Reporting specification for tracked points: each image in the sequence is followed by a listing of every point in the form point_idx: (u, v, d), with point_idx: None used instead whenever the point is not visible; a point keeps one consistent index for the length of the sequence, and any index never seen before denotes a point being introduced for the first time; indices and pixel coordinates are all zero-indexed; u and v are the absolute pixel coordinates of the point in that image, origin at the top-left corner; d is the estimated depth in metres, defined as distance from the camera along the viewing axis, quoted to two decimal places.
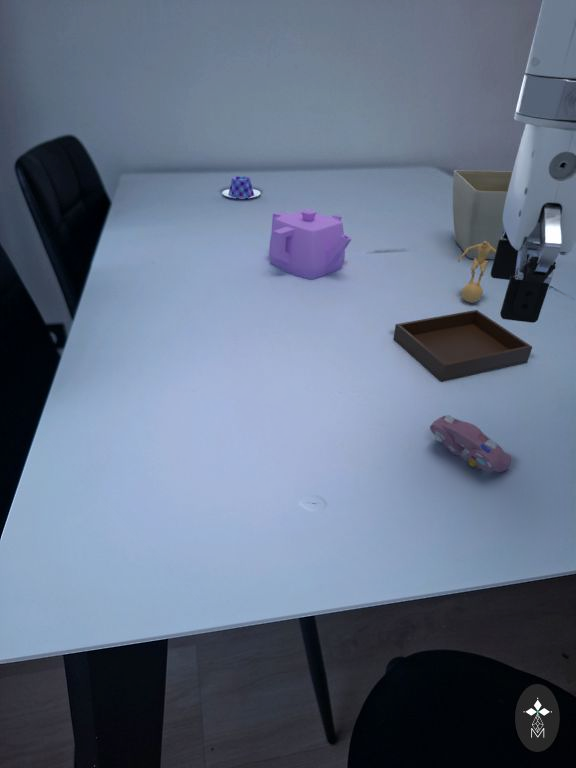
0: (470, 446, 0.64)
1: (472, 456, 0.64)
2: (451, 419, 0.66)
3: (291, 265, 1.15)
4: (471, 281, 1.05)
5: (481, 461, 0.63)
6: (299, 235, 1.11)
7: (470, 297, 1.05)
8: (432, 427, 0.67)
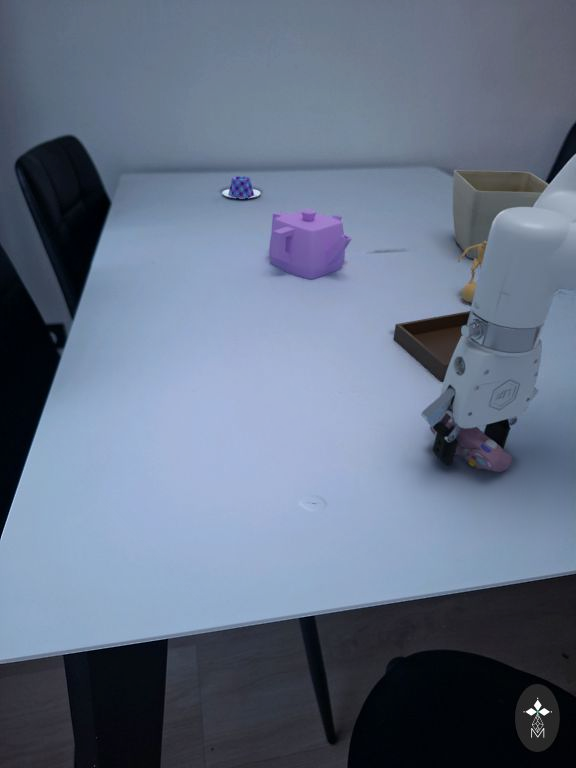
0: (470, 446, 0.64)
1: (472, 455, 0.64)
2: (451, 419, 0.66)
3: (291, 265, 1.15)
4: (471, 281, 1.05)
5: (481, 461, 0.63)
6: (299, 235, 1.11)
7: (470, 297, 1.05)
8: None
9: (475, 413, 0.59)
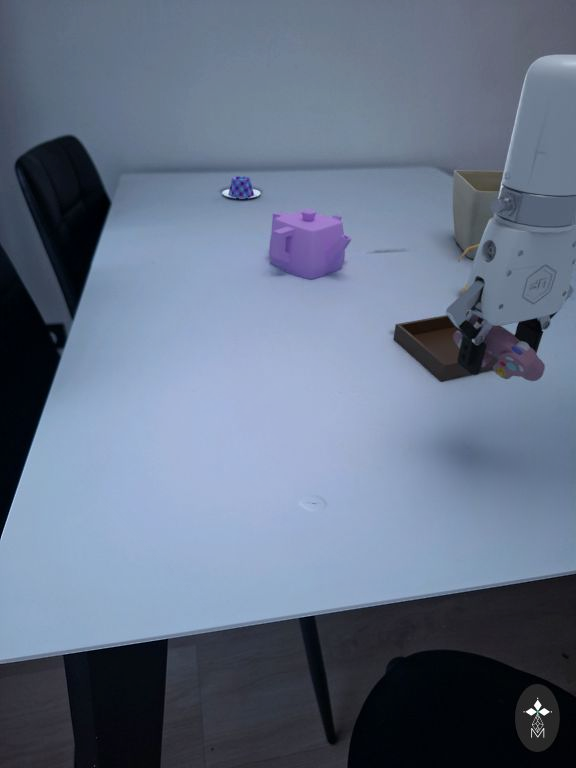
0: (499, 350, 0.58)
1: (502, 362, 0.58)
2: (477, 324, 0.60)
3: (291, 265, 1.15)
4: None
5: (512, 366, 0.57)
6: (299, 235, 1.11)
7: None
8: (455, 335, 0.61)
9: (507, 306, 0.53)
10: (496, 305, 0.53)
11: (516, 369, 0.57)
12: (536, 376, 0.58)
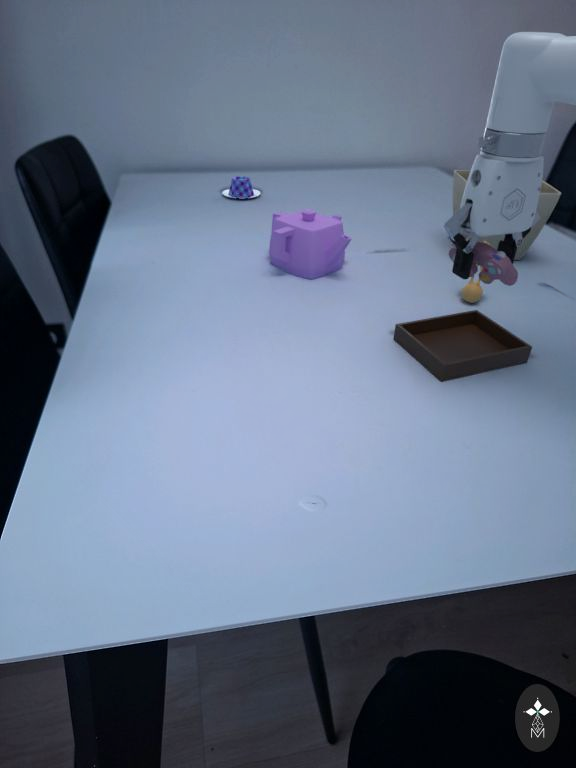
0: (483, 259, 0.76)
1: (485, 268, 0.77)
2: None
3: (291, 265, 1.15)
4: (471, 281, 1.05)
5: (492, 270, 0.75)
6: (299, 235, 1.11)
7: (470, 297, 1.05)
8: (450, 251, 0.80)
9: (489, 220, 0.71)
10: (481, 219, 0.71)
11: (495, 272, 0.75)
12: (511, 280, 0.77)
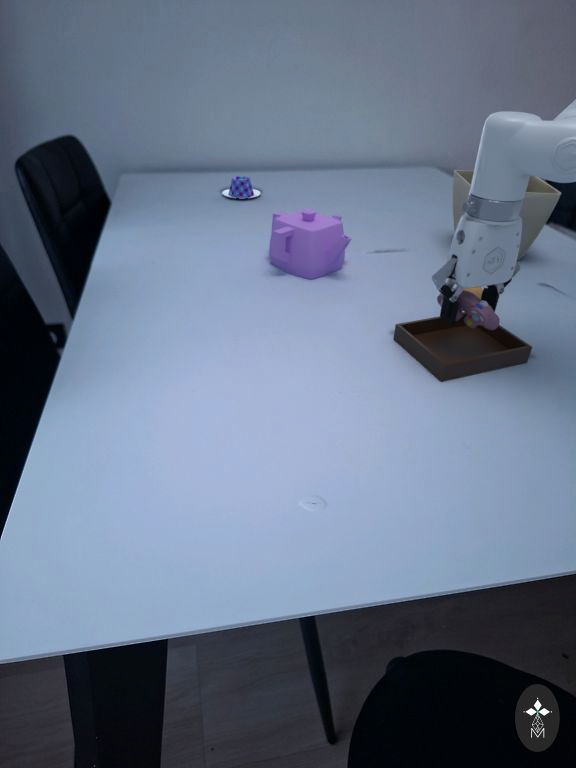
0: (467, 307, 0.84)
1: (469, 315, 0.84)
2: (453, 290, 0.86)
3: (291, 265, 1.15)
4: None
5: (476, 317, 0.83)
6: (299, 235, 1.11)
7: None
8: (438, 297, 0.87)
9: (472, 274, 0.79)
10: (465, 273, 0.79)
11: (478, 319, 0.83)
12: (493, 325, 0.84)
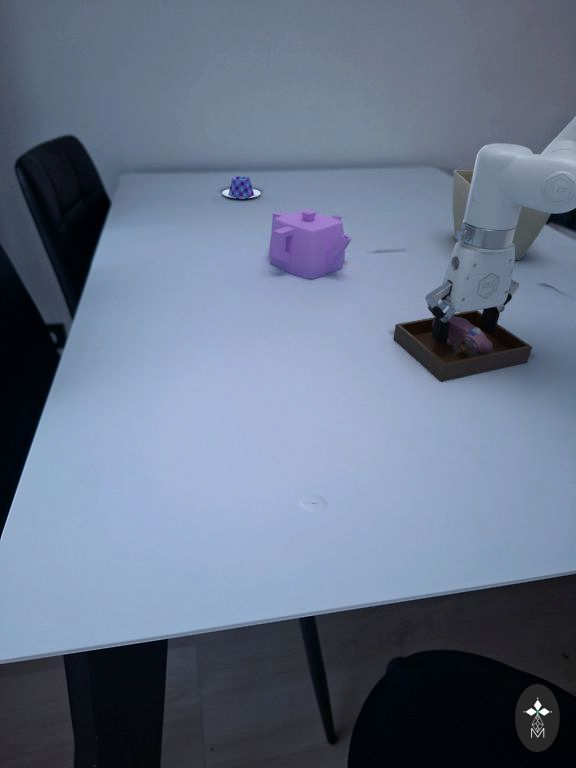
0: (461, 333, 0.86)
1: (463, 341, 0.87)
2: None
3: (291, 265, 1.15)
4: None
5: (469, 344, 0.86)
6: (299, 235, 1.11)
7: None
8: (433, 323, 0.90)
9: (467, 299, 0.81)
10: (460, 298, 0.81)
11: (472, 346, 0.86)
12: (486, 351, 0.87)
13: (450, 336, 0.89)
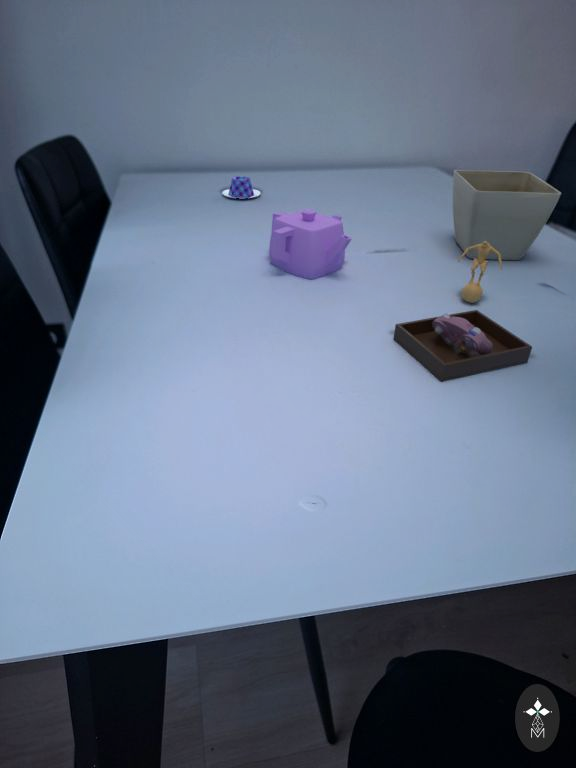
0: (461, 333, 0.86)
1: (463, 341, 0.87)
2: (448, 316, 0.89)
3: (291, 265, 1.15)
4: (471, 281, 1.05)
5: (469, 344, 0.86)
6: (299, 235, 1.11)
7: (470, 297, 1.05)
8: (433, 323, 0.90)
9: None
10: None
11: (472, 346, 0.86)
12: (486, 351, 0.87)
13: (450, 336, 0.89)
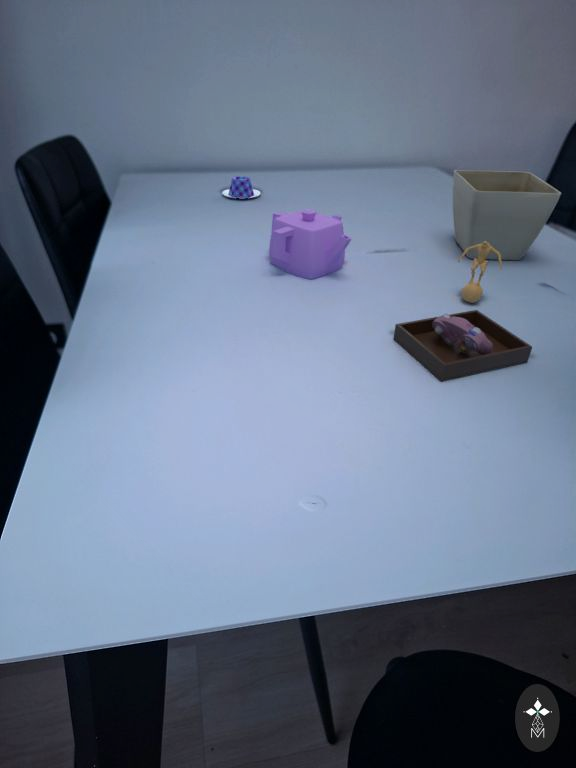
0: (461, 333, 0.86)
1: (463, 341, 0.87)
2: (447, 316, 0.89)
3: (291, 265, 1.15)
4: (471, 281, 1.05)
5: (469, 344, 0.86)
6: (299, 235, 1.11)
7: (470, 297, 1.05)
8: (433, 323, 0.90)
9: None
10: None
11: (472, 346, 0.86)
12: (486, 351, 0.87)
13: (450, 336, 0.89)
